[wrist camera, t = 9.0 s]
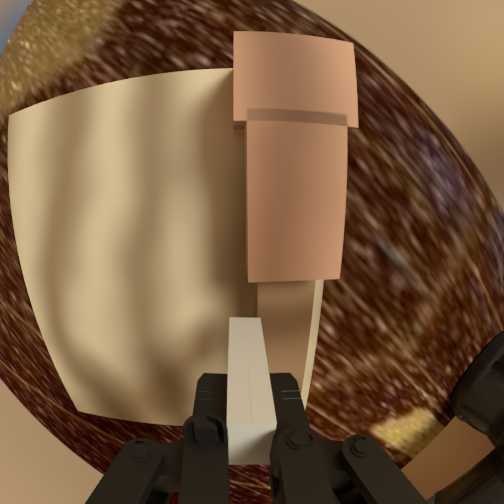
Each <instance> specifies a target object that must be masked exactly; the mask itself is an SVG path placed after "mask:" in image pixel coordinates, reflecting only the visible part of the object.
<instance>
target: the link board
mask: <svg viewBox="0 0 504 504" xmlns="http://www.w3.org/2000/svg"><path fill="white" fill-rule="evenodd" d="M355 128H358V102H357V83H356V69H355V57H354V47H353V43H350V42H345V41H340V40H334V39H328V38H322V37H315V36H307V35H298V34H288V33H275V32H248V31H234V68H229V69H205V70H191V71H180V72H171V73H162V74H155V75H148V76H142V77H136V78H130V79H125V80H120V81H115V82H111V83H106V84H102V85H98V86H94V87H90V88H86V89H82V90H79V91H75V92H72V93H68V94H65V95H62V96H59V97H56V98H53V99H50V100H47V101H44V102H41V103H39V104H36V105H33V106H31V107H28V108H26V109H23V110H21V111H18V112H16V113H14V114H11V115H9V126H8V176H9V191H10V202H11V211H12V219H13V226H14V232H15V238H16V244H17V249H18V254H19V258H20V263H21V267H22V272H23V276H24V279H25V283H26V287H27V291H28V294H29V297H30V301H31V304H32V307H33V310H34V313H35V316H36V319H37V322H38V325H39V328H40V331H41V333H42V336H43V338H44V341H45V344H46V346H47V349H48V351H49V353H50V356H51V358H52V360H53V363H54V365H55V367H56V369H57V371H58V374H59V376H60V378H61V380H62V382H63V384H64V386H65V388H66V390H67V392H68V394H69V396H70V397H71V399H72V401H73V403H74V405H75V407H76V408H77V410H78V411H80V412H84V413H89V414H94V415H99V416H104V417H109V418H115V419H121V420H128V421H135V422H143V423H152V424H163V425H175V426H183V425H184V422H185V421H186V420H187V419H188V418H189V417H190V416H192V414H193V407H194V400H195V393H196V386H197V381H198V379H199V378H200V377H201V376H202V374H203V373H221V374H228V347H229V319H230V317H245V318H254V282H279V281H303V280H316V282H315V293H314V302H313V312H312V320H311V329H310V337H309V344H308V352H307V359H306V366H305V373H304V379H303V386H302V392H301V399H302V401H303V405H304V408H305V409H306V404H307V398H308V393H309V387H310V381H311V375H312V369H313V362H314V356H315V349H316V342H317V334H318V327H319V319H320V310H321V301H322V292H323V282H324V279H339V278H340V269H341V259H342V248H343V236H344V223H345V207H346V185H347V130H351V129H355Z"/></svg>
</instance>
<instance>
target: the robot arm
mask: <svg viewBox="0 0 504 504" xmlns="http://www.w3.org/2000/svg"><path fill="white" fill-rule="evenodd" d="M451 410H452V411H453V412H454V414H455V415H456V416H457V418H458V419H459V420H461V421H463V422H466V423H467V424H469V425H470V426H472V427H473V428H475V429H476V430H478V431H480V432H481V433H483V434H485V435H486V436H487V437H488V438H489V440H490V441H491V443H492V444H493V445H494V447H495V448H494V450H492V451H491V452H490V453H489V454H488V455H487V456H486V457H484V458H483V459H482V460H481V461H480V462H478V463H477V464H476V465H475V466H473V467H472V468H471V469H470V470H468V471H467V472H466V473H464V474H463V475H462V476H460V477H459V478H458V479H457V480H455V481H454V482H452V483H451V484H450V485H448V486H447V487H445V488H444V489H442V490H441V491H438V492H436V493H435V494H434V495H433V496H432V497H430V498H429V499H427V500H425V499H424V498H423V496H422V495H421V494H420V493H419V492H418V491H417V489H416V488H415V487H414V486H413V485H412V483H411V482H410V481H409V480H408V479H407V477H406V476H405V475H404V474H403V472H402V471H401V470H400V469H399V468H398V466H397V465H396V464H395V463H394V461H393V460H392V459H391V458H390V457H389V455H388V454H387V453H386V452H385V450H384V449H383V448H382V447H381V446H380V444H379V443H378V442H377V441H376V440H375V439H374V438H373V437H371V436H368V435H366V434H356V435H351V436H350V437H348V438H347V439H346V440H345V441H335V440H328V439H323V438H321V437H319V436H317V435H316V434H315V433H314V432H313V431H312V430H311V429H310V426H309V423H308V420H307V416H306V412H305V408H304V405H303V401H302V399H301V393H300V391H299V386H298V382H297V380H296V379H295V378H294V377H293V375H292V374H291V373H269V370H268V363H267V357H266V350H265V344H264V337H263V331H262V324H261V318H245V317H230V319H229V347H228V374H221V373H203V374H202V376H201V377H200V378H199V379H198V381H197V386H196V393H195V400H194V407H193V414H192V416H190V417H189V418H188V419H187V420H186V421H185V422H184V425H183V431H184V436H185V437H184V438H182V439H180V440H178V441H175V442H171V443H164V444H157V442H155V441H153V440H151V439H149V438H143V437H141V438H134V439H132V440H129V441H128V442H127V443H126V444H125V445H124V446H123V447H122V449H121V450H120V452H119V453H118V455H117V456H116V458H115V459H114V461H113V462H112V464H111V465H110V467H109V468H108V470H107V471H106V473H105V474H104V476H103V477H102V479H101V480H100V482H99V483H98V485H97V486H96V488H95V489H94V491H93V492H92V494H91V496H90V497H89V498H88V500H87V501H86V503H85V504H169V502H170V500H171V498H172V496H173V493H174V492H179V499H178V504H229V464H233V465H250V464H269V461H270V464H271V472H270V476H269V480H268V484H271V492H272V500H273V504H504V332H502V333H501V334H500V335H498V336H497V337H496V338H495V339H494V340H493V341H492V342H491V343H490V344H489V345H488V346H487V347H486V348H485V349H484V350H483V351H482V352H481V354H480V355H479V356H478V357H477V358H476V360H475V361H474V362H473V363H472V365H471V366H470V367H469V369H468V370H467V372H466V373H465V375H464V376H463V378H462V379H461V381H460V382H459V384H458V386H457V388H456V390H455V392H454V394H453V396H452V399H451ZM487 459H488V460H487Z"/></svg>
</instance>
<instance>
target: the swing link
mask: <svg viewBox="0 0 504 504" xmlns="http://www.w3.org/2000/svg"><path fill="white" fill-rule="evenodd" d="M315 282H316V280H303V281H279V282H254V318H261V324H262V331H263V337H264V344H265V350H266V357H267V363H268V370H269V373H291V374H292V375H293V377H294V378H295V379H296V380H297V382H298V386H299V391H300V393H301V392H302V386H303V379H304V373H305V366H306V359H307V352H308V344H309V337H310V329H311V320H312V312H313V302H314V293H315Z"/></svg>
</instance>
